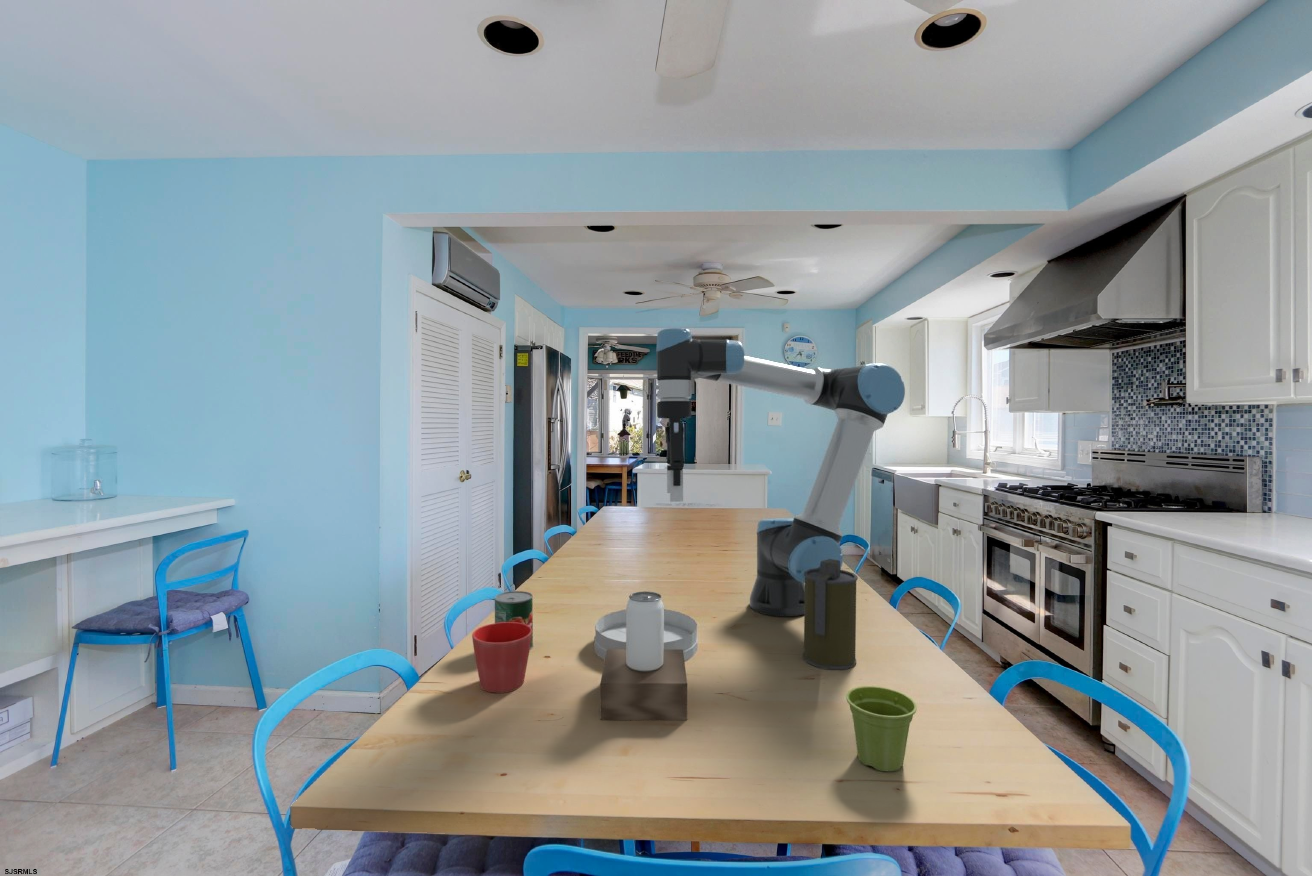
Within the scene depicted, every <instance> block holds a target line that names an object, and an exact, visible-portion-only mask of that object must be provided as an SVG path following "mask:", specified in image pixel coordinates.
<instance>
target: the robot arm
mask: <svg viewBox="0 0 1312 876" xmlns="http://www.w3.org/2000/svg"><path fill="white" fill-rule="evenodd" d="M656 335H657V336H656V350H655V352H656V376H657V377H656V385H654V387H653V389H654V390H656V393H657V395H656V398H657V399H658V400H659V401H657V402H656V417H657V418H658V419H668V422H667V423H666V426H664V434H665V442H666V457H665V458H666V459H665V460H666V463H667V464H666V488H667V489H666V492H667V494H669V502H670V503H671V502H684V470H683V469H684V467H685V463H684V449H683V447H684V445H683V444H684V434H685V430H684V429H685V428H684V426H683V425H684V424H683V422H681V419H689V418H691V417H692V402H691V401H690V399H692V379H694V380H697V379H703V380H707V381H713V382H714V381H715V382H720V383H724V384H729V385H734V386H739V387H744V388H749V389H753V390H759V391H762V392H767V393H771V394H772V393H773V394H778V395H782V396H786V397H787V396H788V397H792V398H797V399H802V400H804V402H805V404H807V405H810V406H811V405H812V406H817V407H821V408H823V409H828V410H830V411H831V410H832V411H834V414H835V415H836V417H837V422H836V425H835V427H834V430H833V432H832V435H831V439H830V441H829V443H828V447H827V448H826V451H825V453H824V457H823V460H822V461H821V464H820V467H819V470H818V472H817V474H816V478H815V480H814V483H813V486H812V489H811V491H810V493H809V497H808V500H807V502H806V504H805V507H804V510H803V511H802V513H799V514H797V515H795V516H794V517H789V518H788V517H783V518H782V517H778V518H777V517H775V518H763V519H760V520H759V521H758V523H757V528H756V529H757V531H756V579H755V581H754V583H753V587H752V588H751V589H752V590H751V593H750V595H749V607H750V609H752V610H753V611H755V612H757V613H759V614H760V613H761V614H763V615H766V616H767V615H768V616H772V617H797V616H802V615H803V616H804V604H805V576H804V572H805V571H807V570H809V569H815V568H818V567H820V564H821V561H825V560H828V559H833V560H839V561H840V570H842V567H843V563H844V554H843V552H842V551H843V550H842V548H841V546H840V543H841V541H842V538H843V533H842V531H841V529H840V524H841V521H842V518H843V516H844V513H845V510H846V508H847V505H848V502H849V499H850V496H851V494H852V491H853V488H854V486H855V483H856V481H857V479H858V476H859V473H860V470H861V467H862V464H863V462H864V459H865V456H866V454H867V451H868V449H869V446H870V444H871V440H872V438H873V435H874V433H875V432H876V431H877V430H878V431H879V430H880V429H882V428H884V425H885V423H886V420H887V417H888V415H889V414H892V413H894V412H895V411H898V409H900V407H901V406H902V404H903V402H904V400H905V395H906V388H905V382H904V381H903V379H902V376H901V374H900V373H899V372H898V371H897V370H896V369H895V368H894V367H893V366H890V365H888V364H886V363H885V364H884V363H867V364H865V365H859V366H850V367H843V368H842V367H841V368H821V367H817V366H815V367H813V368H812V369H808V368H803V367H798V366H794V365H788V364H784V363H779V362H774V361H771V360H767V359H762V358H756V357H751V356H749V355H748V356H747V355H746V354H745V349H744V348H745V347H744V346H743V344H742V343H741V342H740V341H739V340H734V339H733V340H732V339H727V338H726V339H698V338H696V339H695V338H692V333H691V331H690V329H688V328H681V327H669V328H664V329H661V330H659V331H658V333H657V334H656Z"/></svg>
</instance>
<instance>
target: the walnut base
mask: <svg viewBox="0 0 1312 876" xmlns="http://www.w3.org/2000/svg"><path fill="white" fill-rule="evenodd" d="M685 662H686V661H684V654H683V649H664V652H663V665H662V666H661V667H660V668H659V669H657V670H655V671H650V672H639V671H635V670H632V669H630V668H629V667H628V665H627V664H626V649H607V653H606V658H605V660H604V662H603V663H604V664H603V669H602V673H601V678H600V683H599V685H600V687H599V689H600V690H599V693H600V694H599V695H600V699H599V701H600V703H599V707H600V708H599V709H600V715H599V717H600V718H599V719H600V721H687V720H688V679H687V672H686V663H685Z"/></svg>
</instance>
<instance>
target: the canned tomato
mask: <svg viewBox="0 0 1312 876" xmlns="http://www.w3.org/2000/svg"><path fill="white" fill-rule="evenodd" d="M533 602H534V601H533V593H531V592H529V591H524V590H523V591H522V590H513V591H505V592H500V593H499V594H497V595H494V623H500V622H517V623H523V624H526V625H528V626H530V627H531V629H532V638H531V645H530V650H532V649H533V647H534V644H533V643H534V639H533V638H534V636H533V635H534V634H533V632H534V631H533V630H534V629H533V626H534V622H533V619H534V618H533V616H534V613H533V612H534V610H533V608H534V607H533V606H534V605H533Z"/></svg>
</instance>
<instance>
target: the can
mask: <svg viewBox="0 0 1312 876" xmlns="http://www.w3.org/2000/svg"><path fill="white" fill-rule="evenodd" d="M664 608H665V607H664V603H663V600H662V595H661V593H658V592H655V591H646V590H645V591H637V592H636V591H635V592H633V593H630V594H629V596H628V601H627V603H626V609H625V610H626V664H627V665H628V667H629V668H630V669H632V670H635V671H639V672H650V671H655V670H657V669H659V668H660V667H661V666H662V665H663V652H664Z"/></svg>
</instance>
